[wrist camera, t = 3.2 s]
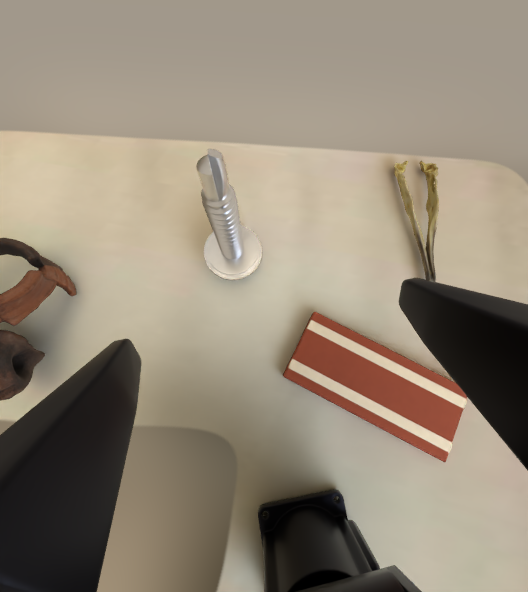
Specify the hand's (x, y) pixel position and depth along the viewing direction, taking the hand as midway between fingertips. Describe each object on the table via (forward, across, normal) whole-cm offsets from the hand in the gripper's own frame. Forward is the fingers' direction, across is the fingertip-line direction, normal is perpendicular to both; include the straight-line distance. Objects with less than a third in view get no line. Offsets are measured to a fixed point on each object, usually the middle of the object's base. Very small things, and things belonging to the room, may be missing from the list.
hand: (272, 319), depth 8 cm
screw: (+15, +1, +4) cm, 16 cm away
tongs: (+15, -17, +5) cm, 23 cm away
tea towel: (+6, -8, +14) cm, 17 cm away
